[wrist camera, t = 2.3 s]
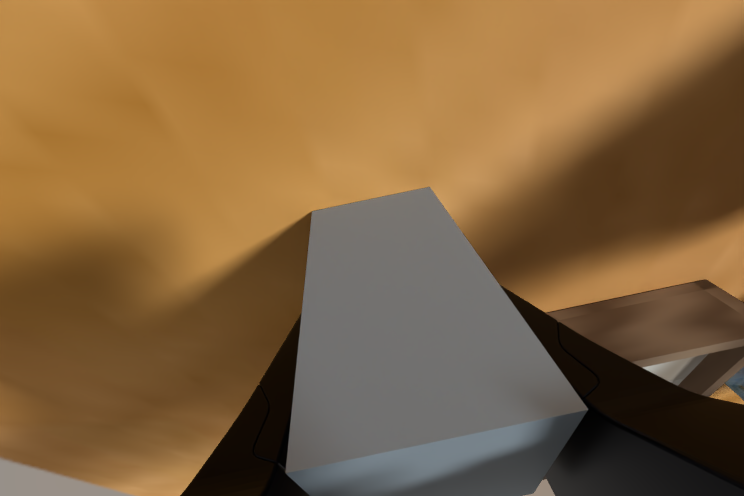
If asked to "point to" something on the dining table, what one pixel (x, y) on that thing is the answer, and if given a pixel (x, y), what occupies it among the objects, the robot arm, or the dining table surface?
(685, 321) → the shallow tray
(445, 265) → the peg
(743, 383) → the lunch bag
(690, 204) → the dining table surface
